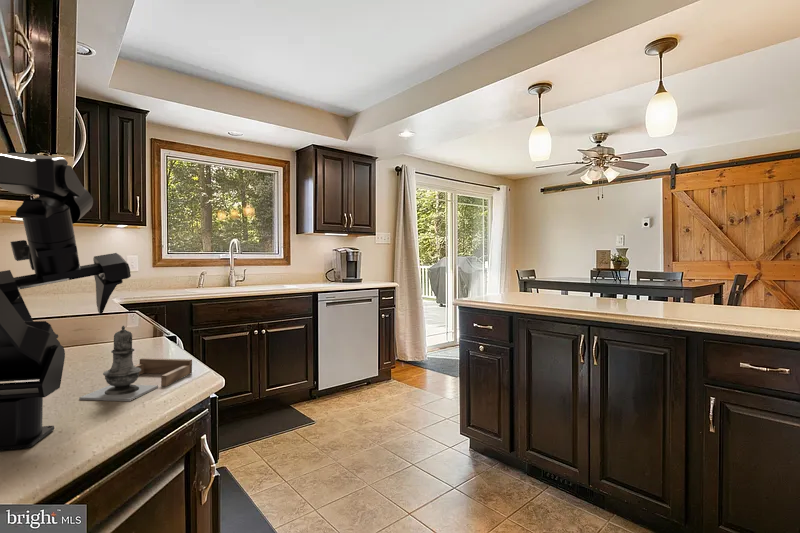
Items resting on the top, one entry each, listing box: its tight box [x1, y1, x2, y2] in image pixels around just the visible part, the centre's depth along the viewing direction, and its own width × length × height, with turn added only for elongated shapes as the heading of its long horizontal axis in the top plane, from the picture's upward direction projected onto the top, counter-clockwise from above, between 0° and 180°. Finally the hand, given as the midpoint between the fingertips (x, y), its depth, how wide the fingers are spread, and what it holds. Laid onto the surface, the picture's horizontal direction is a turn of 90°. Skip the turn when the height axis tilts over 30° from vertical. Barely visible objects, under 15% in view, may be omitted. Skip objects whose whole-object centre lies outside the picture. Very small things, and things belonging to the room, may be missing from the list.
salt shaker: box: [102, 325, 141, 395], centre depth 76 cm, size 6×6×12 cm
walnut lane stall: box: [134, 357, 193, 387], centre depth 86 cm, size 10×11×3 cm
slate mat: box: [78, 384, 159, 402], centre depth 76 cm, size 8×9×1 cm
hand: (68, 320), depth 71 cm, fingers open, 9 cm apart
